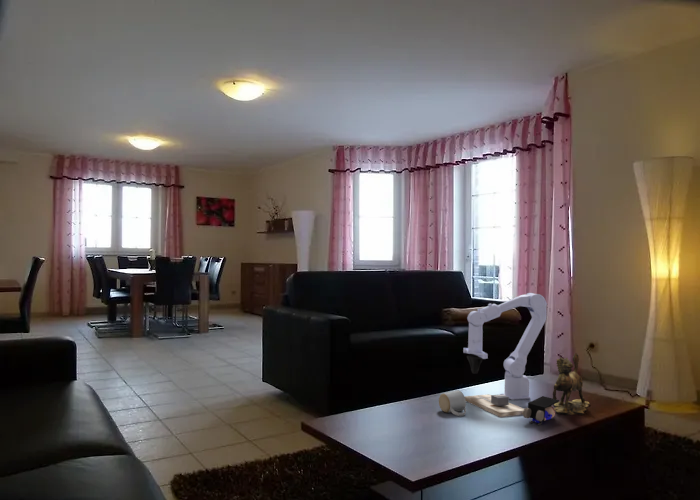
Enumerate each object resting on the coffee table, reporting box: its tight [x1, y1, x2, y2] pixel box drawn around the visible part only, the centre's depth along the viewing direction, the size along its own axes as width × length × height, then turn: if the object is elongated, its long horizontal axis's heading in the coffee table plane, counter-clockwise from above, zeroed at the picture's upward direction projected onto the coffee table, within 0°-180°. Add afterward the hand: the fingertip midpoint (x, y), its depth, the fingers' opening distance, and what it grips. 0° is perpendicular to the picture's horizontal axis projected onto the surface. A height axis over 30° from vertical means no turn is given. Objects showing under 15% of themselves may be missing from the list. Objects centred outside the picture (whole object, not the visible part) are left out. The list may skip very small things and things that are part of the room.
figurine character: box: [522, 396, 560, 427], centre depth 180 cm, size 7×8×15 cm
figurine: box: [552, 352, 591, 416], centre depth 199 cm, size 13×25×20 cm, turn 136°
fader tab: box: [490, 393, 510, 406], centre depth 194 cm, size 5×4×3 cm
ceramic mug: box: [438, 389, 467, 417], centre depth 189 cm, size 10×8×7 cm
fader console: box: [464, 394, 525, 418], centre depth 197 cm, size 12×23×2 cm, turn 21°
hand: (474, 373), depth 213 cm, fingers closed
